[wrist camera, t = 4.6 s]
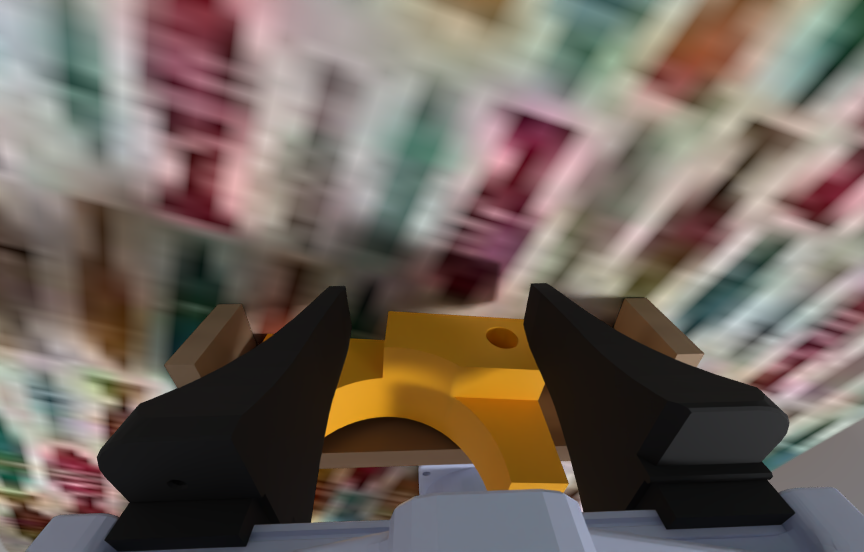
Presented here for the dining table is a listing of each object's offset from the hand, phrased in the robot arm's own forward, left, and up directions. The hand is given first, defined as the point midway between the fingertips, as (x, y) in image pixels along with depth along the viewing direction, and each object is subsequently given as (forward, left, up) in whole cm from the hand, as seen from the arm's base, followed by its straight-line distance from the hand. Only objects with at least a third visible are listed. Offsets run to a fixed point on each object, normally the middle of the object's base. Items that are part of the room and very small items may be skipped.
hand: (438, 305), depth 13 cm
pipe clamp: (-4, +2, -2) cm, 4 cm away
